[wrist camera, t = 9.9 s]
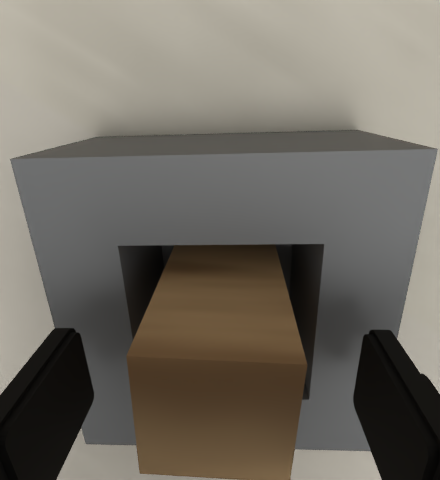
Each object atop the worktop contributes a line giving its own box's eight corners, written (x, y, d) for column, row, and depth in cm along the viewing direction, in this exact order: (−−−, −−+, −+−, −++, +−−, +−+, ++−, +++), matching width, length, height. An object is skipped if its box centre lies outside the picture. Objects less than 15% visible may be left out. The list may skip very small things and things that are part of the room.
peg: (263, 296, 19) (289, 482, 10) (186, 293, 19) (139, 473, 10) (269, 223, 17) (307, 364, 8) (184, 221, 17) (126, 355, 8)
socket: (331, 344, 21) (372, 451, 15) (130, 342, 22) (85, 444, 15) (357, 130, 16) (437, 148, 10) (96, 136, 17) (10, 158, 10)
